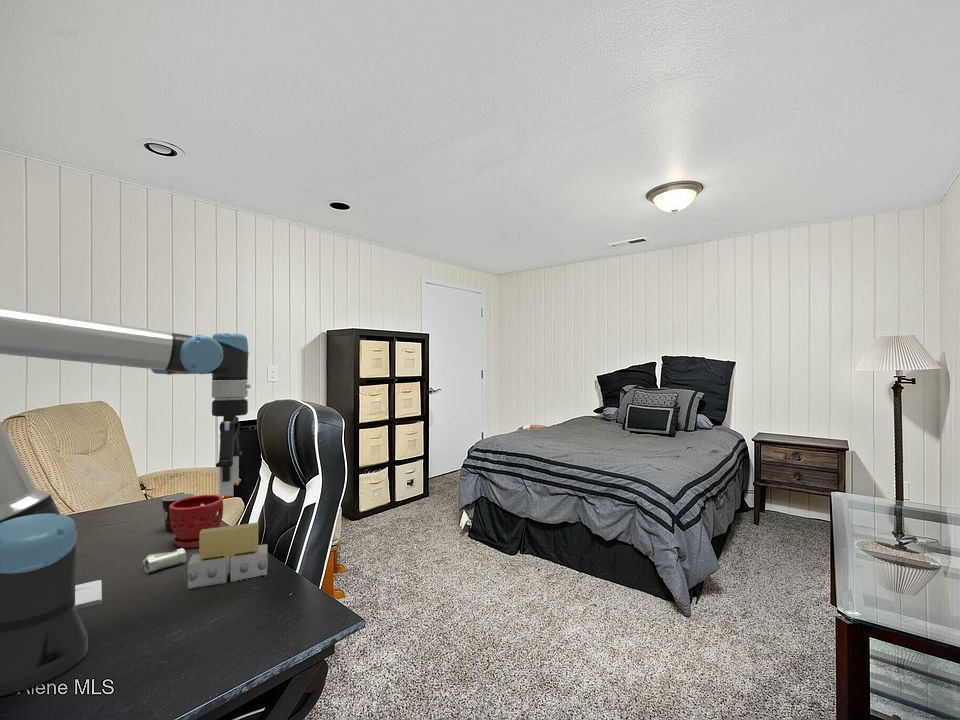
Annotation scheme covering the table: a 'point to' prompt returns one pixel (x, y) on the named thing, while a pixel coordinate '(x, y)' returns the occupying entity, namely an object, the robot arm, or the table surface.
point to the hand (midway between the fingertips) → (229, 489)
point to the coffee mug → (167, 502)
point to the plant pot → (194, 518)
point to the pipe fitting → (164, 560)
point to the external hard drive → (88, 594)
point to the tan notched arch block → (228, 541)
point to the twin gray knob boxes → (226, 568)
